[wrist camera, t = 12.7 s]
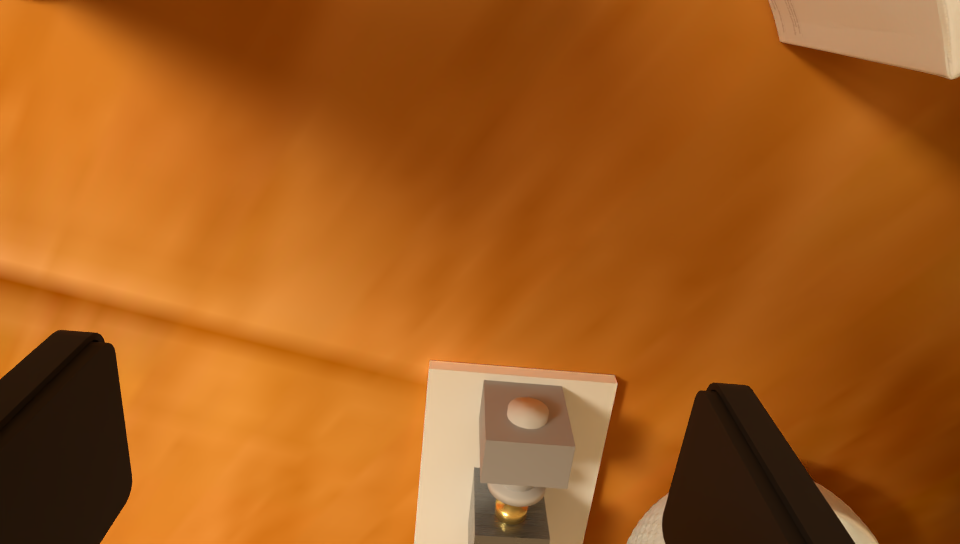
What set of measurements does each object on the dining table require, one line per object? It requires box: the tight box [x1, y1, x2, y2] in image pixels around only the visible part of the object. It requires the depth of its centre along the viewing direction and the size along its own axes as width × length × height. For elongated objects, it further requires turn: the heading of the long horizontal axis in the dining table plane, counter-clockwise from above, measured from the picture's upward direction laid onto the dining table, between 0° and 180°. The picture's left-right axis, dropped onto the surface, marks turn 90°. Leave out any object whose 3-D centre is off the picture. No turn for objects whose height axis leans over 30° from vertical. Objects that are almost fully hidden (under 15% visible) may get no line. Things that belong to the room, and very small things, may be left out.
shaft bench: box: [414, 360, 618, 544], centre depth 44 cm, size 12×20×7 cm, turn 174°
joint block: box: [468, 467, 550, 544], centre depth 44 cm, size 7×4×6 cm
